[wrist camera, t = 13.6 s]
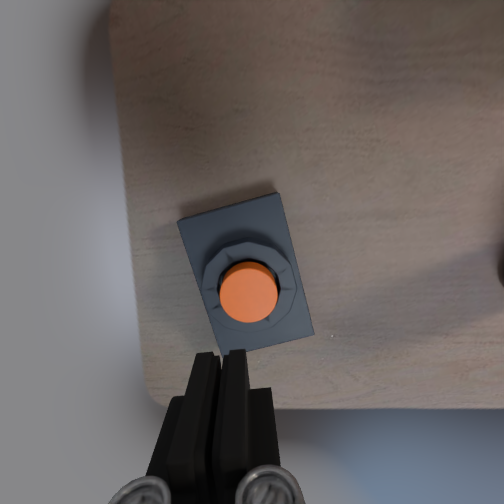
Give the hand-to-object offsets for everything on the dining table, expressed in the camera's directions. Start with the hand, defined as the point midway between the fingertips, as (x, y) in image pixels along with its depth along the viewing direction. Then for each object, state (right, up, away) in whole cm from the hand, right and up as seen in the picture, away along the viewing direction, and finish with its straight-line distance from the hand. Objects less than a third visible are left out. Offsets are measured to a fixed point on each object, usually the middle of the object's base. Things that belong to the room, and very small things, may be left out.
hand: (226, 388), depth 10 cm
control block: (+1, +3, +15) cm, 15 cm away
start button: (+1, +2, +12) cm, 12 cm away
